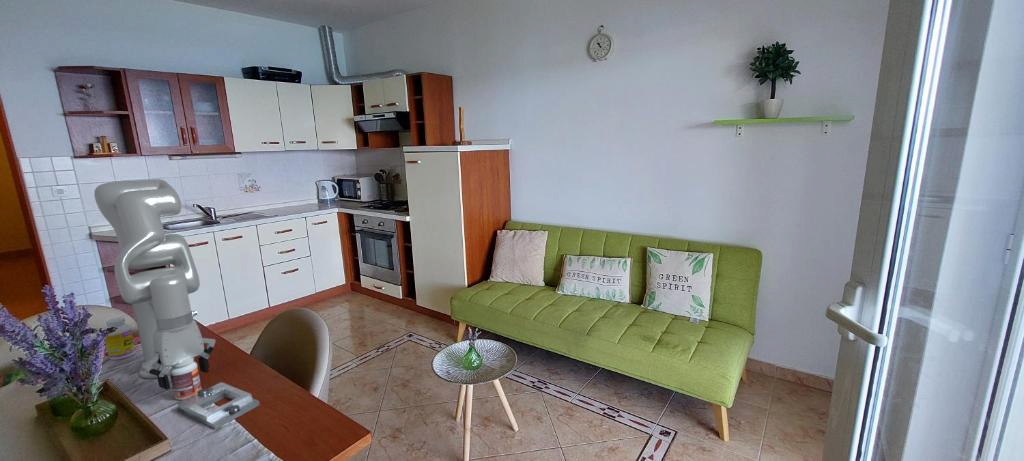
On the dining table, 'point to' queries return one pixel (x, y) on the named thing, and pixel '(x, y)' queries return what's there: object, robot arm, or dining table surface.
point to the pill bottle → (185, 379)
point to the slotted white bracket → (222, 414)
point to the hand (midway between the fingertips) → (185, 379)
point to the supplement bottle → (119, 339)
